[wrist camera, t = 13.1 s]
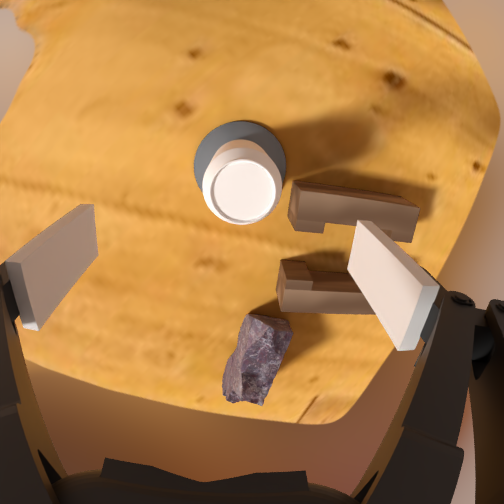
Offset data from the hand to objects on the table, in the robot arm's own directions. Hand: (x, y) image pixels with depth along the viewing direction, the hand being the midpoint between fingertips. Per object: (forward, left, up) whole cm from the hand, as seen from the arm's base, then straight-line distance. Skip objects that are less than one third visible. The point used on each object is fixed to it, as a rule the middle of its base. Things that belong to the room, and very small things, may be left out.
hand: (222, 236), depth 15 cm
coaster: (0, +1, -21) cm, 21 cm away
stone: (+24, +5, -22) cm, 33 cm away
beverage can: (0, +1, -21) cm, 21 cm away
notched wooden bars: (+8, +14, -21) cm, 27 cm away
